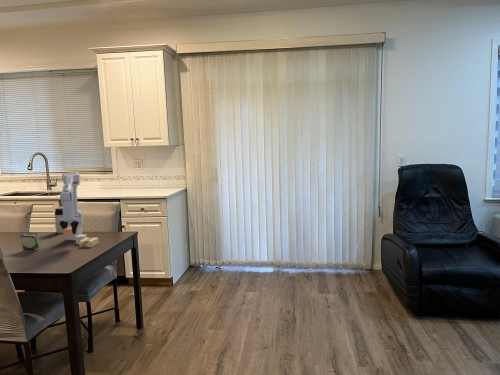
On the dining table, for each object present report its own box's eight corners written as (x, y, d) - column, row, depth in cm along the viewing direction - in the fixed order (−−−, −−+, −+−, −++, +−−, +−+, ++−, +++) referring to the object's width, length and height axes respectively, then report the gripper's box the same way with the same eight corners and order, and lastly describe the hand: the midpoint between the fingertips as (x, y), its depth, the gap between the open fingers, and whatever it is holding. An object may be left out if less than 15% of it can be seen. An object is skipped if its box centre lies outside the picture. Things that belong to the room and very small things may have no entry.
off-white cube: (76, 244, 229) (75, 236, 228) (79, 242, 234) (78, 234, 233) (84, 244, 229) (83, 236, 229) (87, 241, 234) (86, 234, 234)
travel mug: (56, 234, 256) (54, 208, 254) (56, 231, 263) (54, 207, 261) (69, 232, 260) (66, 207, 257) (68, 230, 267) (66, 205, 264)
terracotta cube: (64, 237, 219) (63, 229, 218) (69, 235, 224) (68, 227, 223) (71, 237, 218) (70, 229, 217) (76, 235, 223) (76, 227, 222)
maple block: (79, 247, 223) (79, 241, 222) (86, 243, 231) (86, 237, 230) (92, 247, 222) (91, 241, 222) (98, 243, 230) (98, 237, 229)
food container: (45, 249, 221) (44, 233, 219) (37, 252, 215) (35, 235, 213) (30, 247, 225) (28, 231, 223) (21, 250, 219) (19, 234, 217)
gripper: (52, 212, 216) (55, 235, 218) (74, 212, 214) (76, 235, 216) (60, 210, 223) (62, 231, 225) (82, 210, 221) (84, 232, 222)
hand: (70, 233), depth 221 cm, fingers closed on terracotta cube, 5 cm apart
